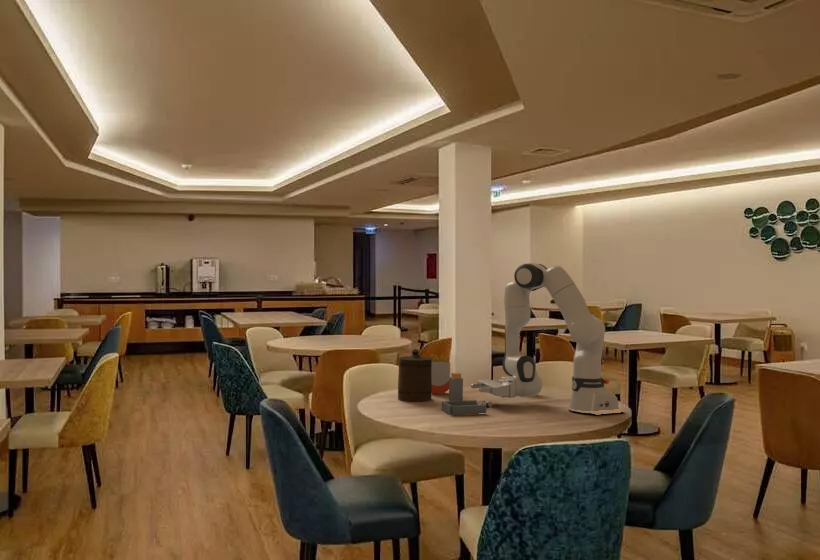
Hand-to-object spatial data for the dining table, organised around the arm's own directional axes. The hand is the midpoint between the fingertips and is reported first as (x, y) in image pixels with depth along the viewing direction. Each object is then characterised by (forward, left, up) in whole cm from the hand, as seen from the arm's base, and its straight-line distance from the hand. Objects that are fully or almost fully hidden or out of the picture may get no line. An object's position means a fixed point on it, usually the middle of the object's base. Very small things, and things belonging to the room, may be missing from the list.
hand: (475, 387), depth 292 cm
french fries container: (+6, -32, -8) cm, 33 cm away
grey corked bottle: (+9, 0, -8) cm, 12 cm away
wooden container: (+21, -20, -8) cm, 30 cm away
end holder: (+10, +12, -8) cm, 17 cm away
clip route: (-2, +5, -8) cm, 9 cm away
